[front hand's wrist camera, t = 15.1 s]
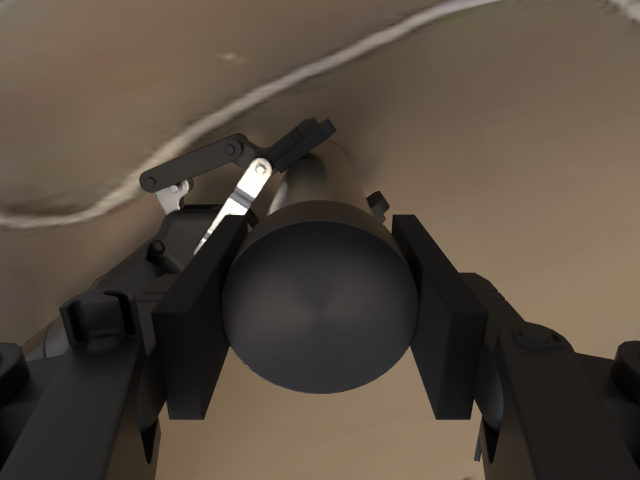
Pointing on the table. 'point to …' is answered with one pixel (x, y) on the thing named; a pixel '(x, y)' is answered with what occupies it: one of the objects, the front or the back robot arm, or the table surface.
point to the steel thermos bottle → (321, 180)
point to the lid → (319, 298)
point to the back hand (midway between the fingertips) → (357, 162)
